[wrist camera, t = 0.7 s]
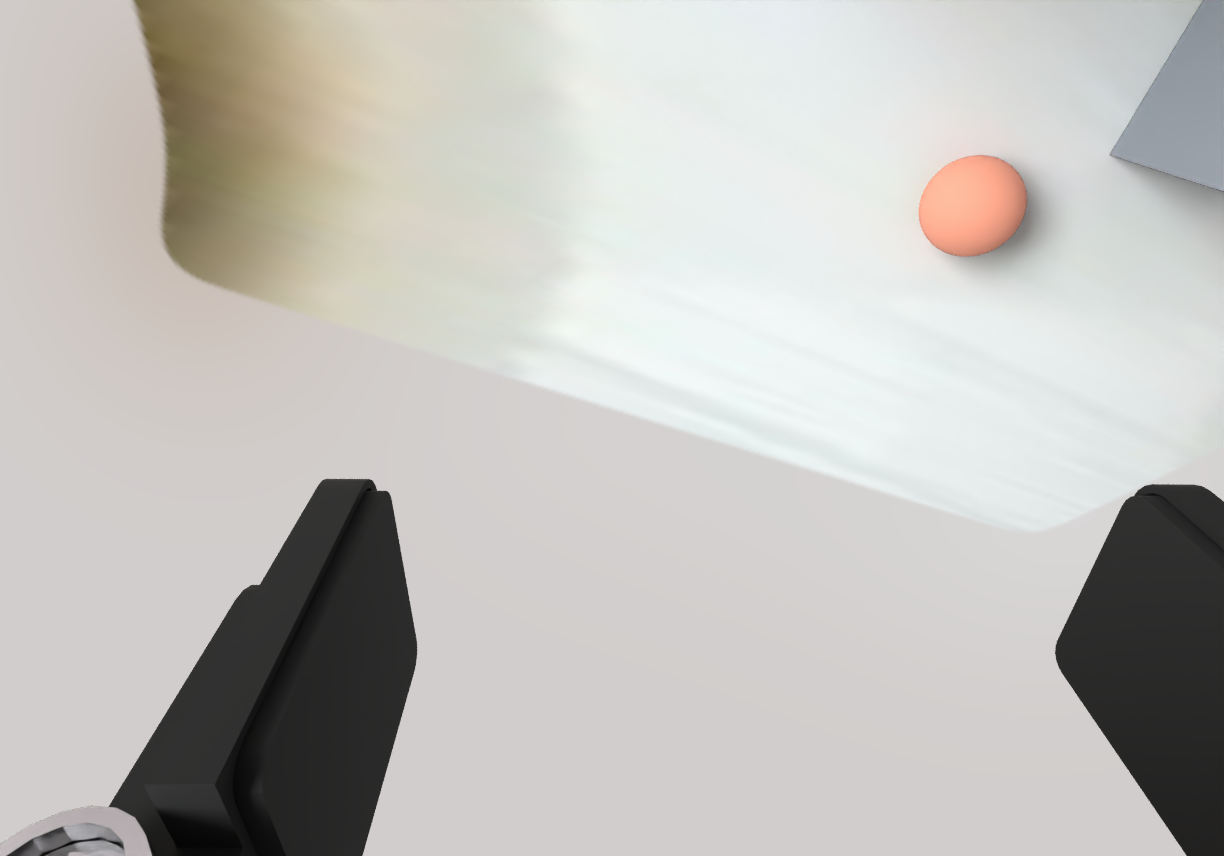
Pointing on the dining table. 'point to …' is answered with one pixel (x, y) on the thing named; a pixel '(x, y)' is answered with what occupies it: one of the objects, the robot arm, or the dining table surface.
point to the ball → (972, 205)
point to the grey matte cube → (1185, 107)
